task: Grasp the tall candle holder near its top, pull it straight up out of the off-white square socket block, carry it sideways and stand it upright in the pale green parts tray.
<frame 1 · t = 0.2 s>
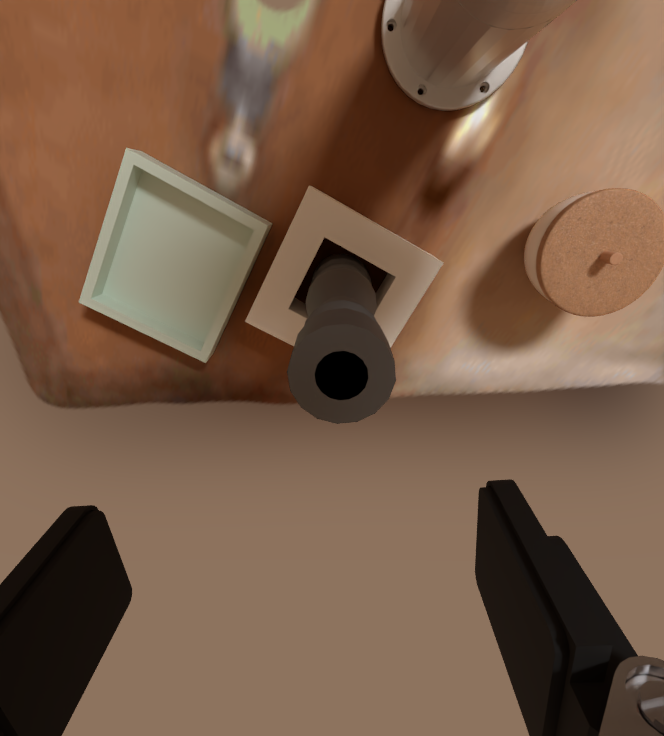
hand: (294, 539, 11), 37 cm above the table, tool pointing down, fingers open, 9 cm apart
lidded jar: (560, 245, 44), on the table
candle holder: (341, 282, 45), resting in socket block
socket block: (341, 283, 45), on the table
parts tray: (180, 261, 45), on the table
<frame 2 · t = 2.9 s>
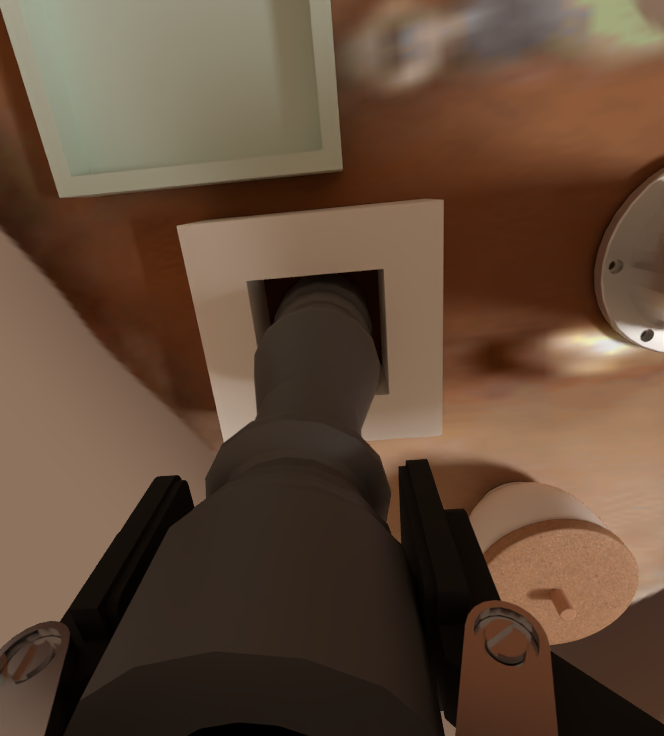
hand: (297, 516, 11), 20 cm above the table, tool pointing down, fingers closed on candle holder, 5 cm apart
lidded jar: (511, 509, 36), on the table
candle holder: (324, 316, 30), resting in socket block, touching gripper
socket block: (324, 317, 29), on the table
parts tray: (188, 48, 24), on the table
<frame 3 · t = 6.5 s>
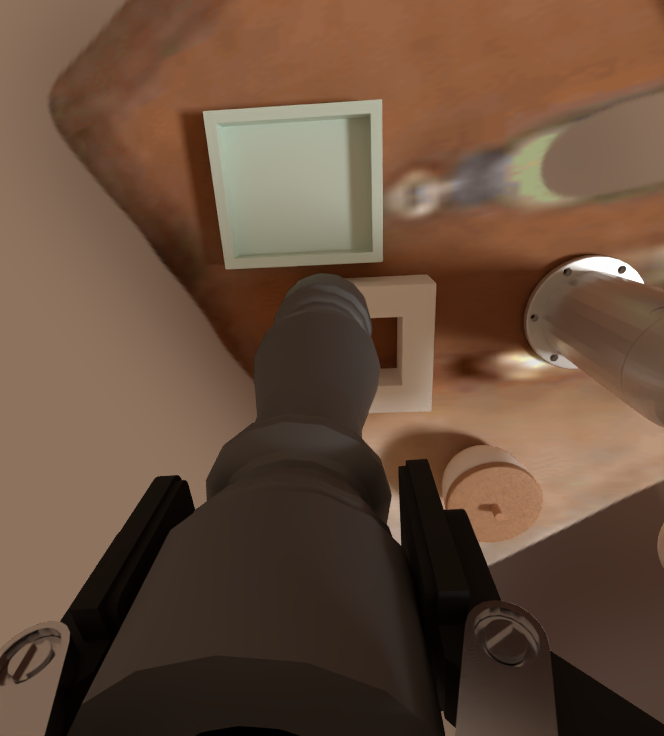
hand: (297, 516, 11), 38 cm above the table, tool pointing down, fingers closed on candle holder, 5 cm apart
lidded jar: (474, 465, 55), on the table
candle holder: (324, 317, 30), point 18 cm above the table, touching gripper
socket block: (363, 338, 49), on the table
parts tray: (300, 191, 43), on the table
when the fingers open (22 cm above the table, at t = 10.5 s): candle holder drops 2 cm, resting on parts tray.
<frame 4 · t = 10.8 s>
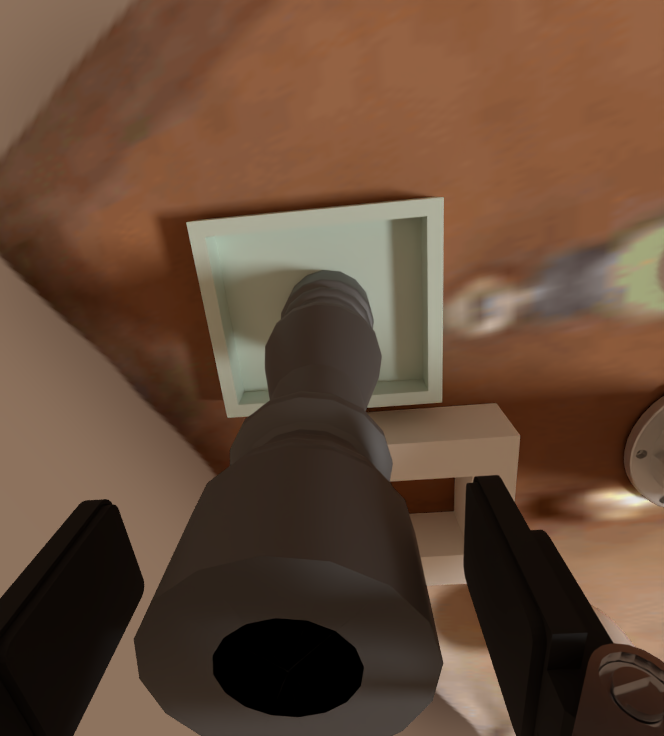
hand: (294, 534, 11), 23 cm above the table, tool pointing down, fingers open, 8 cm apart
lidded jar: (551, 613, 44), on the table
candle holder: (328, 311, 31), point 1 cm above the table, touching parts tray
socket block: (411, 479, 37), on the table
parts tray: (325, 308, 32), on the table
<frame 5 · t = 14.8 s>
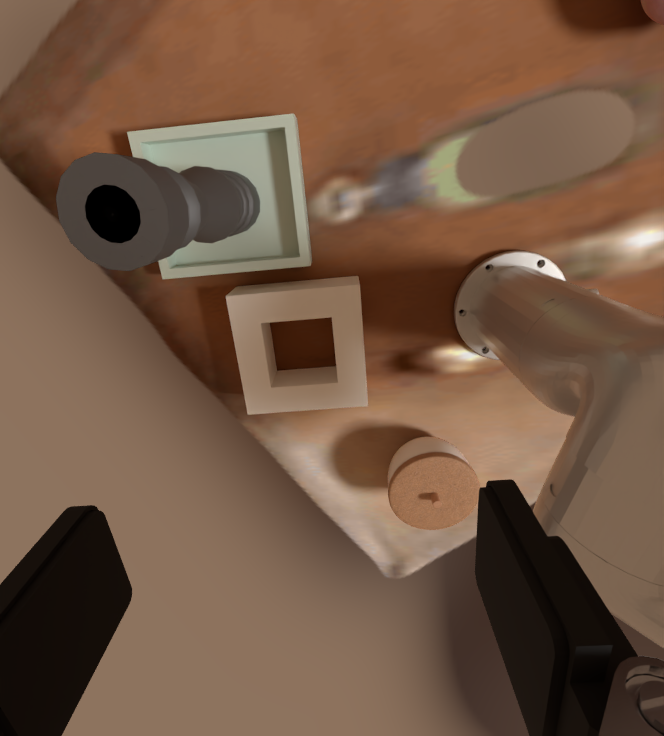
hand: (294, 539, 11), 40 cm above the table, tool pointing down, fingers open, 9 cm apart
lidded jar: (422, 456, 57), on the table
candle holder: (231, 203, 45), point 1 cm above the table, touching parts tray
socket block: (303, 339, 51), on the table
parts tray: (230, 201, 45), on the table
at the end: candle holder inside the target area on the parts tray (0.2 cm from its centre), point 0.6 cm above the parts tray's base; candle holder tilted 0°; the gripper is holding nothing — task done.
